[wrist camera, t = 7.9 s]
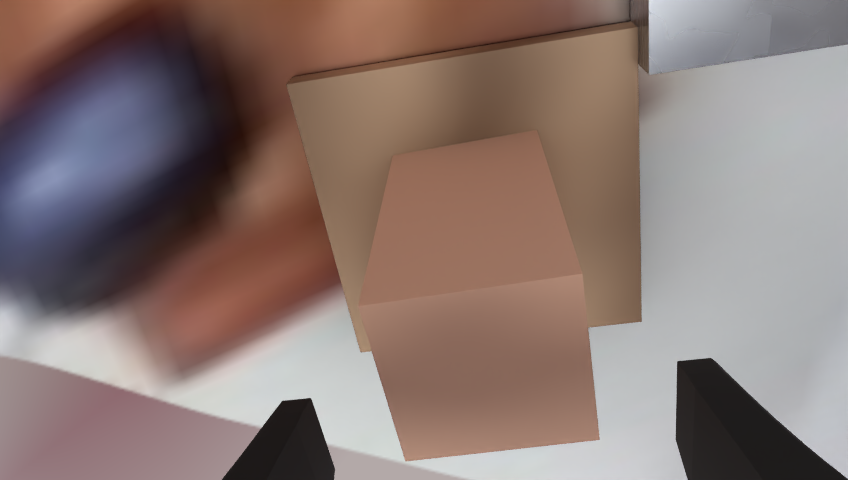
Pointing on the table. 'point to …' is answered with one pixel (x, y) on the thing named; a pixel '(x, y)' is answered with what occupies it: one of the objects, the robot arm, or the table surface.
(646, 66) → the socket plate
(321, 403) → the table surface
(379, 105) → the walnut pad
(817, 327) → the table surface
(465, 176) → the pinkish brown rectangular block
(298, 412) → the robot arm
